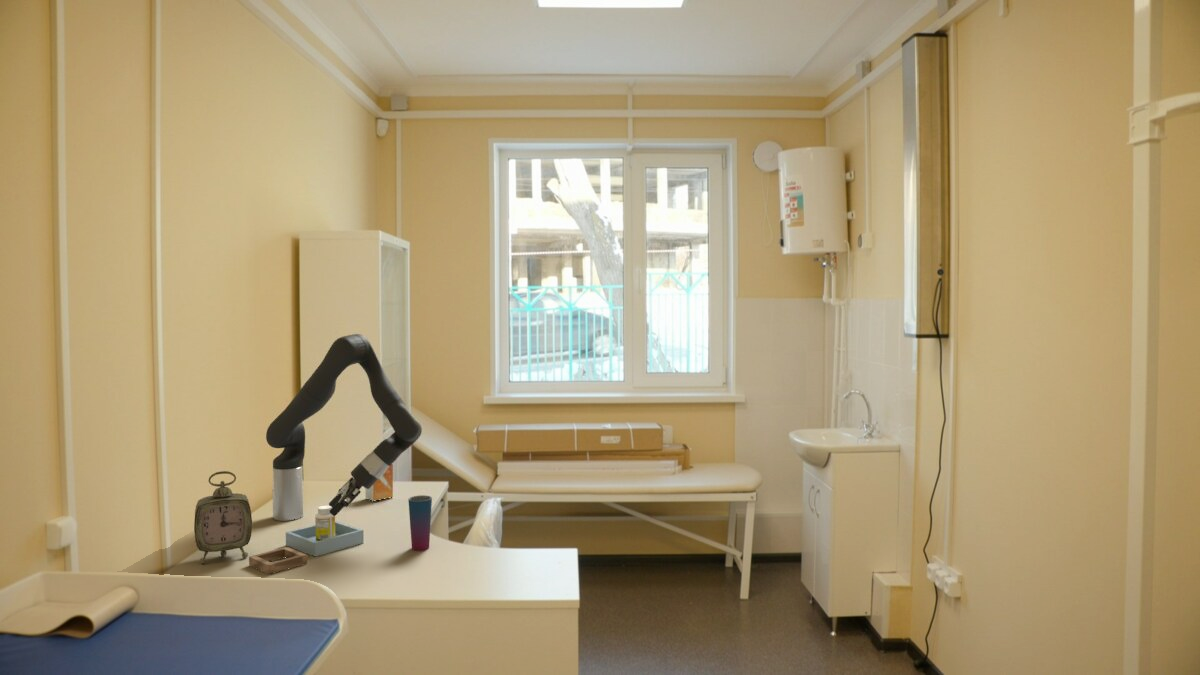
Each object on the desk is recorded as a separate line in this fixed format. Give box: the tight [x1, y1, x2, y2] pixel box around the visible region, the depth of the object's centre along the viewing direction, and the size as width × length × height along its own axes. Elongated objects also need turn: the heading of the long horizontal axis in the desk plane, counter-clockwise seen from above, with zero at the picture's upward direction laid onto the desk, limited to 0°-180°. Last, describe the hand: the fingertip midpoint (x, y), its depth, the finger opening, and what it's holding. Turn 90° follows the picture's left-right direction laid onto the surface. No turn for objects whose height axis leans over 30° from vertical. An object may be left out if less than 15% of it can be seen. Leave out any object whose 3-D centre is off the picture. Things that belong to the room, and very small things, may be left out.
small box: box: [364, 463, 394, 502], centre depth 283 cm, size 8×6×13 cm
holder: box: [248, 546, 308, 575], centre depth 213 cm, size 11×11×2 cm
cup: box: [407, 494, 433, 552], centre depth 227 cm, size 7×7×15 cm
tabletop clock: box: [193, 470, 253, 565], centre depth 217 cm, size 14×9×25 cm, turn 118°
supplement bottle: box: [315, 505, 336, 541], centre depth 231 cm, size 6×6×10 cm
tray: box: [285, 520, 364, 557], centre depth 231 cm, size 16×16×4 cm
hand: (331, 510), depth 231 cm, fingers open, 8 cm apart
